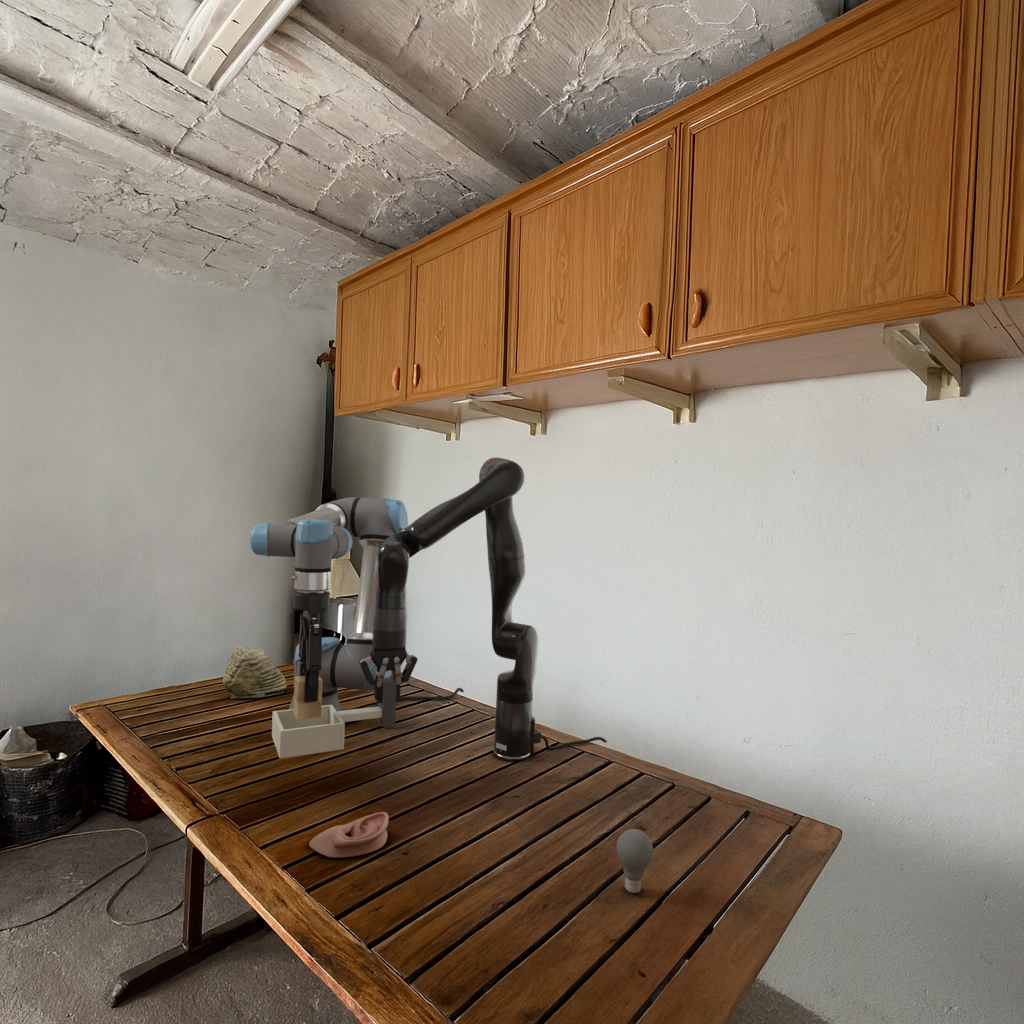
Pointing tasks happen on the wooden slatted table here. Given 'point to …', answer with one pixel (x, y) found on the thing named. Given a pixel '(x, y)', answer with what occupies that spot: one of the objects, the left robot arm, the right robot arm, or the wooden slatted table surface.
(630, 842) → the light bulb
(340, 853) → the anatomical model
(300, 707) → the birch block
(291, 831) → the wooden slatted table surface
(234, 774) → the wooden slatted table surface
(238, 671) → the fossil
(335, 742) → the handled bin
